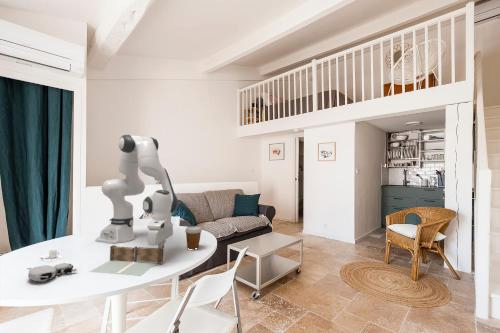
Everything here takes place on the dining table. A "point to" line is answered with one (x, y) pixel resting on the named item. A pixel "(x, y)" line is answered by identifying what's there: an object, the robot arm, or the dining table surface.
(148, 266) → the card
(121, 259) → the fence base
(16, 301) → the dining table surface
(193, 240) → the disposable coffee cup
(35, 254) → the dining table surface
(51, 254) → the teacup and saucer
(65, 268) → the robot toy
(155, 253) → the hinged fence panel
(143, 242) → the dining table surface
